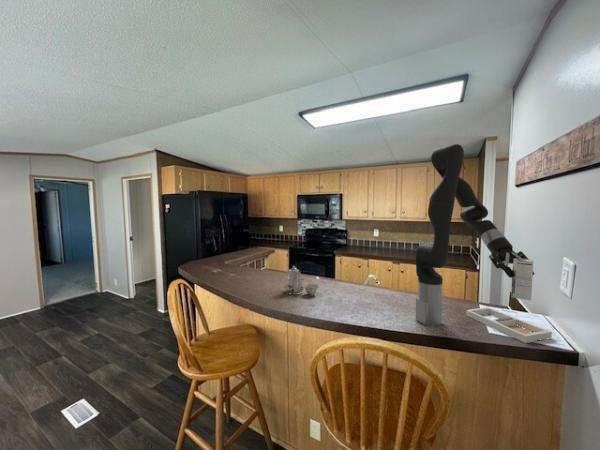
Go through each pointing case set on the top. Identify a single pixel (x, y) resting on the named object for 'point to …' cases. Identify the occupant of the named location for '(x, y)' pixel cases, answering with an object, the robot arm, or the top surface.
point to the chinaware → (298, 283)
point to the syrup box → (522, 279)
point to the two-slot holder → (508, 321)
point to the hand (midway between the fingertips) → (522, 276)
